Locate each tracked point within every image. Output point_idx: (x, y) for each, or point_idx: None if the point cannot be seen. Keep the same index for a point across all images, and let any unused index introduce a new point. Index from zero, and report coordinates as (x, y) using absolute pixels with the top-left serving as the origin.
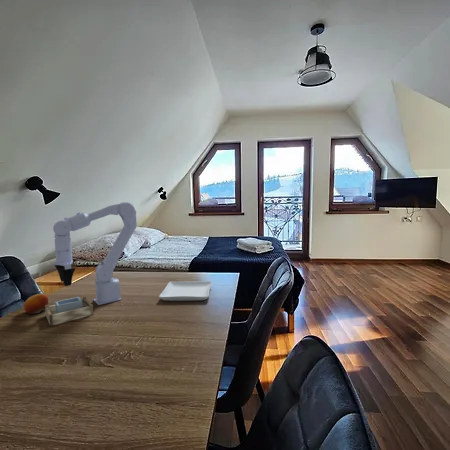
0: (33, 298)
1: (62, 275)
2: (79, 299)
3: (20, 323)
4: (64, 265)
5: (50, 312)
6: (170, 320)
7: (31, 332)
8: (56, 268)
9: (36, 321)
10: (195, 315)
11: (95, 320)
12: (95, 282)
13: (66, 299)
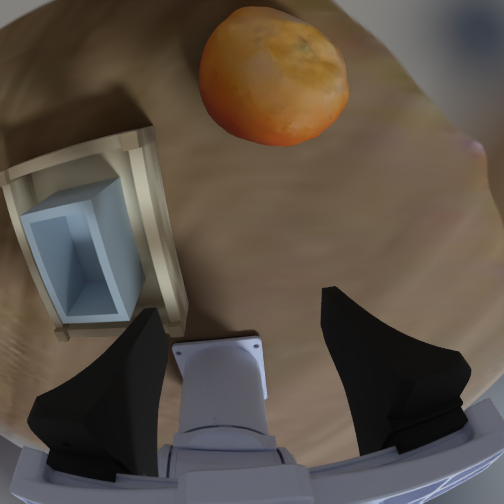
0: (222, 52)
1: (77, 378)
2: (80, 317)
3: (120, 24)
4: (27, 486)
5: (36, 170)
6: (16, 412)
7: (3, 102)
8: (424, 351)
9: (101, 91)
10: (36, 439)
11: (28, 308)
12: (216, 424)
13: (105, 261)
